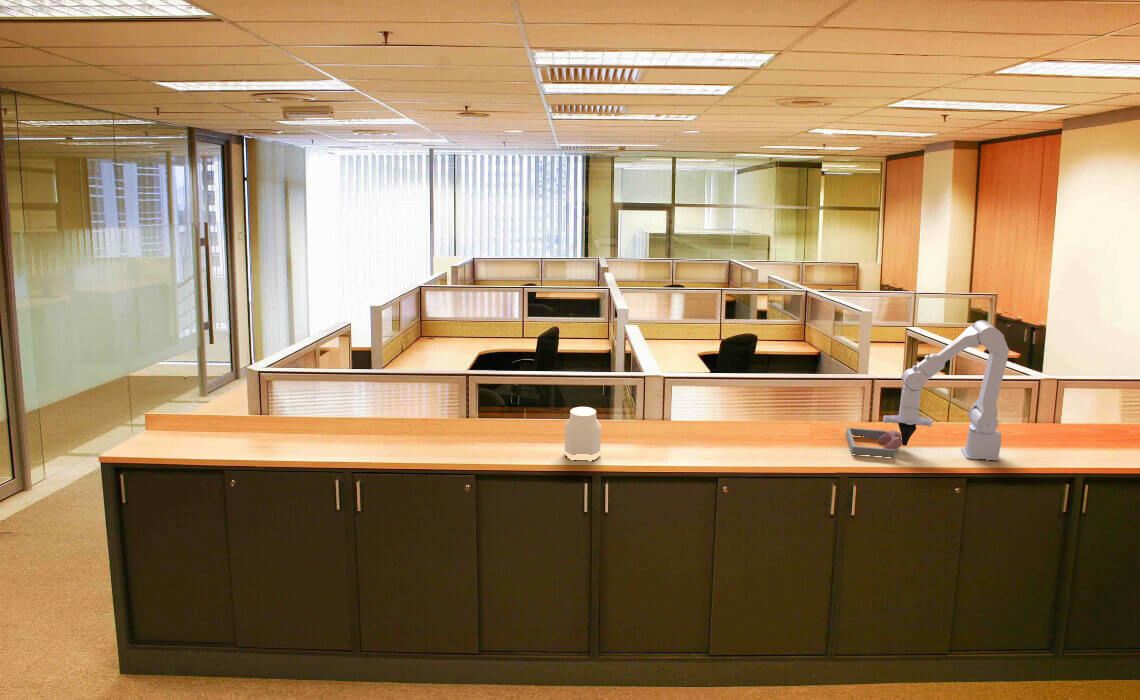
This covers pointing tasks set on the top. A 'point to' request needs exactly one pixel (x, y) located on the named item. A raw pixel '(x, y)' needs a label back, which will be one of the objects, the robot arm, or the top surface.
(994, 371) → the robot arm
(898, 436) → the video game controller
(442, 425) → the top surface
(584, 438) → the jar
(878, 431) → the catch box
